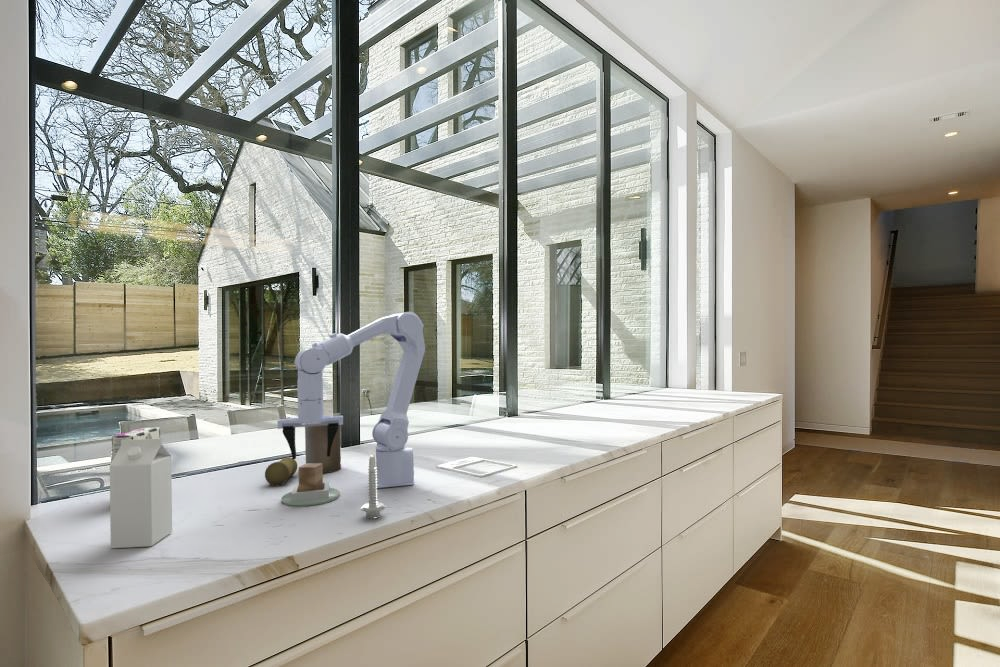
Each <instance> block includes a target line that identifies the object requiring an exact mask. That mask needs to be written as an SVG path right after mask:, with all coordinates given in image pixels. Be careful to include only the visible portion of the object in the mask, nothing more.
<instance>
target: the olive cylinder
mask: <svg viewBox="0 0 1000 667" xmlns="http://www.w3.org/2000/svg"><path fill="white" fill-rule="evenodd" d="M297 470H298V463H297V461H296V459H292V457H290V456H289V457H288V456H287V457H284V458H282V459H280V460H279V461H276V462H273V463H271V464H268V466H267V467H266V469H265V472H264V477H265V480H266V482H267V483H268V484H270V485H271V486H273V487H274V486H275V487H277V486H276V485H280V486H281V485H284V484H285V483H286V482H287V481H288V480H289V478H290V477H292V476H293V475H294V474H295V473H297Z"/></svg>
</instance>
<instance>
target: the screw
mask: <svg viewBox="0 0 1000 667" xmlns="http://www.w3.org/2000/svg"><path fill="white" fill-rule="evenodd" d="M368 462H369V463H368V466H367V467H368V469H367V470H368V472H367V473H368V480H367V482H368V483H367V485H368V486H367V487H368V492H367V493H368V502H366V503H365V504H362V506H361V507H360V511H362V512H365V518H367V517H369V518H373V519H375V518H374V517H378V516H379V517H380V516H381V511H382V510H384V509H385V508H386V505H385V504H384V503H383V502H380V501H378V488H377V486H376V485H377V484H376V483H377V481H376V480H377V478H376V477H377V475H376V474H377V472H376V471H377V470H376V468H377V467H376V455H374V454H370V456H369V459H368ZM379 517H378V518H379ZM369 518H368V519H369Z"/></svg>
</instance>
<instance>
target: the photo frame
mask: <svg viewBox="0 0 1000 667" xmlns="http://www.w3.org/2000/svg"><path fill="white" fill-rule="evenodd" d="M485 461H486V463H490V462H491V464H496V465H502V466H507V467H504V468H500V469H496V470H493V471H490V472H486V473H482V474H481V473H480V474H479V473H476V472H475V473H474V472H470V471H466V470H463V469H462V470H461V469H459V468H462V466H463V467H467V466H470V464H471V465H475V464H478V463H481V462H485ZM466 465H467V466H466ZM437 467H440V468H439V469H441V468H444V469H443V470H446V469H447V470H446V471H450V470H452V471H451V472H455V471H456V472H455V473H459V472H460V474H463V473H465V475H468V474H470V475H469V476H472V475H474V476H473V477H477V476H478V478H483V476H485V477H487V475H488V476H491V475H490V474H492V475H494V474H493V473H495V474H498V473H497V472H499V473H501V471H502V472H505V471H509V470H511V469H515V468H518V464H513V463H507V462H503V461H498V460H497V461H496V460H491V459H486V458H481V457H475V456H469V457H466V458H462V459H457V460H455V461H449V462H446V463H441V464H438V465H436V468H437ZM458 467H459V468H458ZM454 468H456V469H454ZM508 469H509V470H508ZM504 470H505V471H504Z"/></svg>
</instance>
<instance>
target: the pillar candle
mask: <svg viewBox="0 0 1000 667" xmlns="http://www.w3.org/2000/svg"><path fill="white" fill-rule="evenodd" d="M318 423H319V422H318ZM304 424H315V423H304ZM327 427H328V425H322V426H307V427H304V430H305V431H304V438H305V439H304V440H305V444H304V445H305V448H304V449H305V453H304V454H305V464H306V463H323V474H325V473H333V472H337V471H339V470H341V469H342V464H341V462H342V461H341V459H342V457H341V456H342V455H341V425H338V430H337V432H336V435H335V437H334V440H333V443H332V447H331V452H330V456H328V457H327V446H328V432H327Z"/></svg>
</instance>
